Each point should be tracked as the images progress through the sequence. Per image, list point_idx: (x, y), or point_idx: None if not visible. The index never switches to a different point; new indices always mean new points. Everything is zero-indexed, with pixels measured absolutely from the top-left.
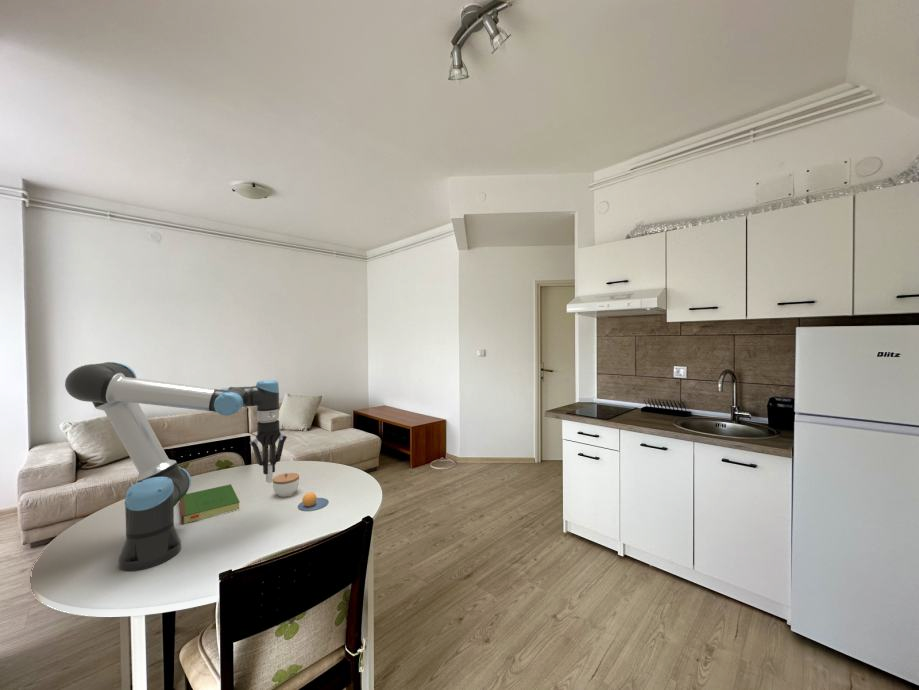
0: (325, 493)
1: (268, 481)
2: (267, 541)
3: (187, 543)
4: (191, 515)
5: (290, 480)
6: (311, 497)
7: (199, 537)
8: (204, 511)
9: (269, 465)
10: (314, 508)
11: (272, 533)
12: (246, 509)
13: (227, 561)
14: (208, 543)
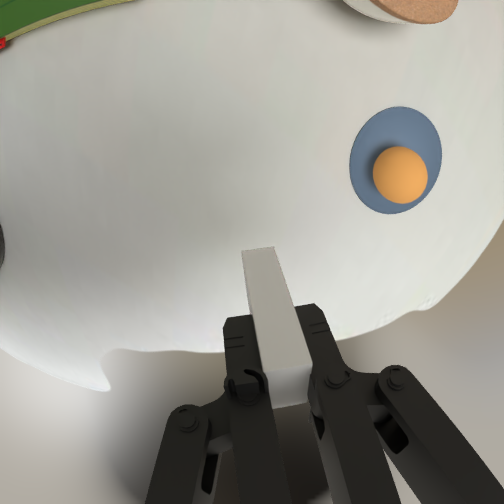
0: (460, 106)
1: (248, 303)
2: (200, 314)
3: (6, 206)
4: None
5: (414, 20)
6: (404, 203)
7: (23, 184)
8: (12, 29)
9: (283, 403)
10: (385, 202)
11: (220, 284)
12: (170, 14)
13: (116, 340)
14: (53, 239)
